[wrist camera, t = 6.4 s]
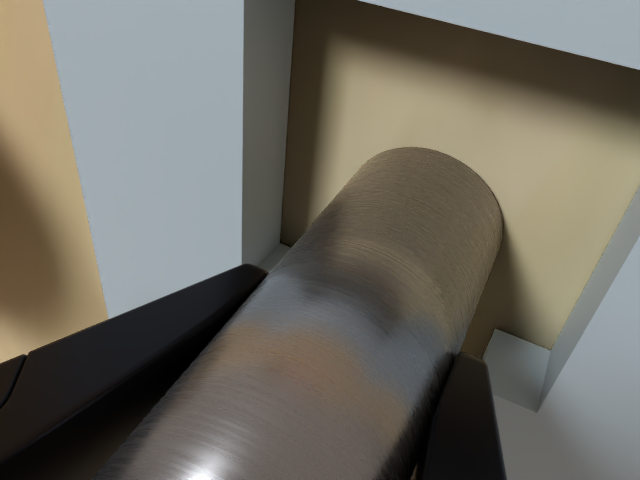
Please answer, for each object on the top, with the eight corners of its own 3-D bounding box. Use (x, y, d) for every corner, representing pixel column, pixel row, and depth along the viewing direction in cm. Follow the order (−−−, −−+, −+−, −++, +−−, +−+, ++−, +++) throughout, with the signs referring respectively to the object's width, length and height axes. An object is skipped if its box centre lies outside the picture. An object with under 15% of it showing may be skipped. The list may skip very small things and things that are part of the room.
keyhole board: (557, 644, 17) (549, 705, 16) (169, 434, 21) (140, 471, 20) (1521, -219, 4) (1837, -228, 3) (66, -332, 8) (-31, -355, 7)
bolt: (494, 333, 11) (235, 1116, 5) (315, 262, 13) (-109, 804, 6) (568, 162, 9) (241, 1332, 2) (335, 92, 10) (-378, 693, 3)
